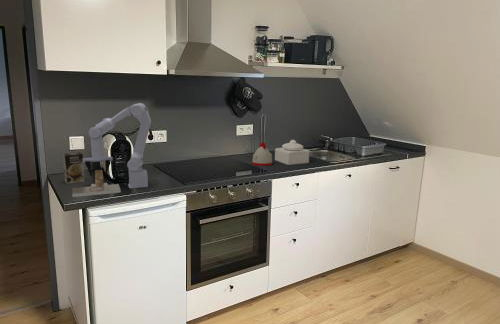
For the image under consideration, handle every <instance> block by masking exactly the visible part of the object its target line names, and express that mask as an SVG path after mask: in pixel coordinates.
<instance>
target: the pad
mask: <svg viewBox="0 0 500 324" xmlns="http://www.w3.org/2000/svg"><path fill="white" fill-rule="evenodd" d="M103 183H104V185H109V184H108V182H103ZM90 186H96V184H95V183H91V184H90Z"/></svg>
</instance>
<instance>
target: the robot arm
mask: <svg viewBox="0 0 500 324" xmlns="http://www.w3.org/2000/svg"><path fill="white" fill-rule="evenodd" d="M126 117H134V118H136V119H137V120H138V122H139V124H140V125H139V129H138V132H137V137H136V141H135V145H134V147H133V151H132V154H131V156H130V159H129V160H128V162H127V164H126V166H127V169H128V184H127V186H128V188H129V189H137V188H141V189H142V188H149V183H148V182H149V180H148V171H147V169H143V165H144V159H143V158H144V151H145V147H146V143H147V140H148V136H149V131H150V128H151V124H152V119H151V115H150V114H149V109H148V107H147V106H146V105H145V104H144V103H142V102H137V103H134V104H132V105H130V106H127V107H126V108H124V109H122V110H121V111H120V112H118V113H117V114H115V115H114V116H112V117H111V118H110V117H107V118H103V119H102V120H101V121H100V122H99V123H96V124H95V126H92V127H90V128H89V130H88V137H90V151H91V152H90V153H91V156H90V157H86V158H85V157H83V164H85V166H86V167H87V170H88V172H89V176H90V177H92V174H93V173H92V166H91V165H92V164H91V163H97V162H98V163H99V162H104V164H105V175H108V173H109V172H108V171H109V168H110V165H111V162H113V160H114V159H113V156H104V144H103V143H104V142H103V135H104V134H106V133H108V132H110V131H111V130H112V129H114V128H115V127H116V123H119V122H120V121H121V120H123V119H125V118H126Z"/></svg>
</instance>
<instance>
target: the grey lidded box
mask: <svg viewBox="0 0 500 324" xmlns="http://www.w3.org/2000/svg"><path fill="white" fill-rule="evenodd" d="M281 146H282V147H276V148H275V149H274V160H275V161H276V162H279V163H282V164H284V165H288V166H290V165H300V164H301V165H302V164H308V163H310V152H311V150H309V149H305V148H304V146H303V145H302V144H300V143H297V141H296V140H295V139H291V140H290V141H289V142H286V143H284V144H282V145H281Z"/></svg>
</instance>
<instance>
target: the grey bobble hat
mask: <svg viewBox="0 0 500 324" xmlns="http://www.w3.org/2000/svg"><path fill="white" fill-rule="evenodd" d="M251 162H252V163H251V164H252V165H254V166H258V167H259V166H260V167H266V166H267V167H268V166H272V165H273V155H272V153H271V152H270V150H269V148H267V145H266V143H265V142H263V141H262V142H261V143H260V144H259V147H258V148H257V149H256V150H255V152H254V153H253V154H252V161H251Z"/></svg>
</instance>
